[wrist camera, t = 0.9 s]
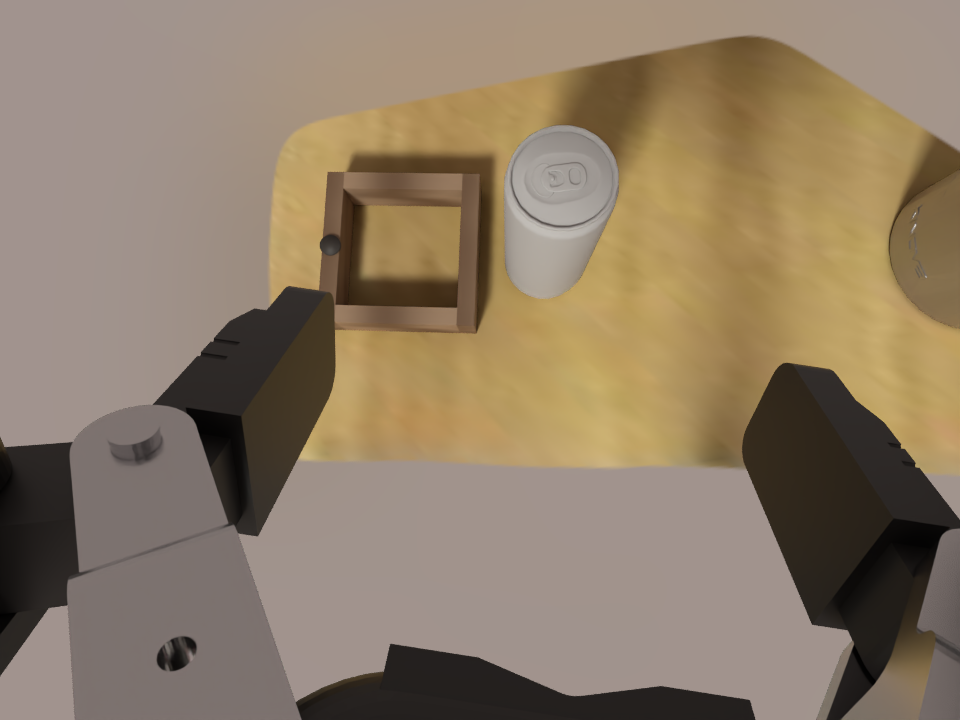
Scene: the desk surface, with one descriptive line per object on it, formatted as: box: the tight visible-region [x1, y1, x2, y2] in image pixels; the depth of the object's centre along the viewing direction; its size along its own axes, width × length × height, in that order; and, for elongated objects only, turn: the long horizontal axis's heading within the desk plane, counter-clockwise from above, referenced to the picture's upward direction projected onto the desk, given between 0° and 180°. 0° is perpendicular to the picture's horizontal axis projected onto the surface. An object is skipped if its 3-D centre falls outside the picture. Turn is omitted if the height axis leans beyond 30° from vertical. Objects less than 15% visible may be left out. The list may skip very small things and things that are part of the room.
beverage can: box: [504, 125, 619, 299], centre depth 30 cm, size 5×5×12 cm
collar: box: [319, 172, 482, 333], centre depth 35 cm, size 9×9×3 cm
